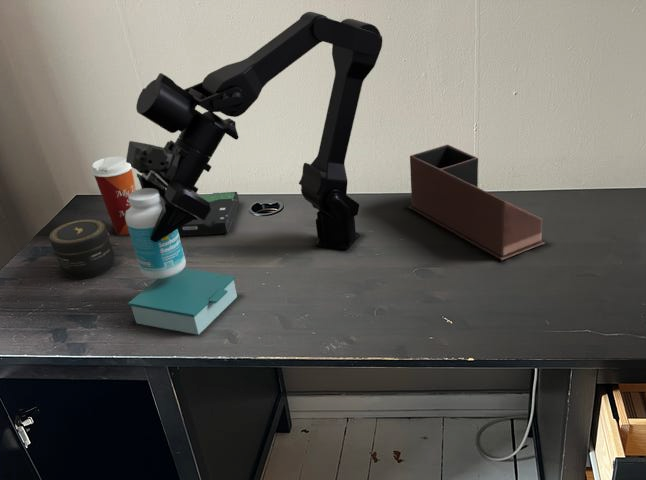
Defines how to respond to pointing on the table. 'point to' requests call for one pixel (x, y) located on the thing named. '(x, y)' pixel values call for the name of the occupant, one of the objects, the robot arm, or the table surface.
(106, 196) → the paper cup
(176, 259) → the pill bottle
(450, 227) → the desk organizer
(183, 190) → the robot arm
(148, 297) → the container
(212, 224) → the disk drive
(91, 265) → the jar
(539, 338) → the table surface
